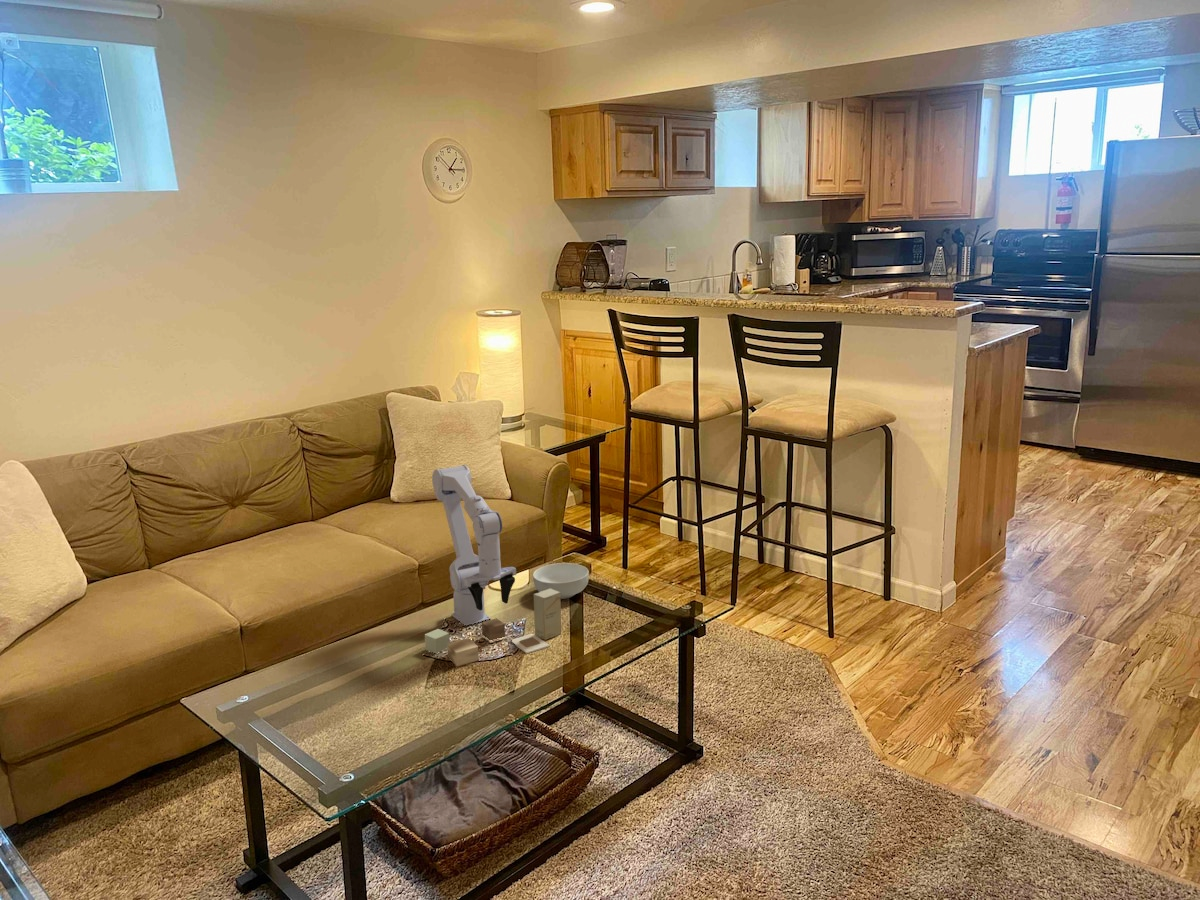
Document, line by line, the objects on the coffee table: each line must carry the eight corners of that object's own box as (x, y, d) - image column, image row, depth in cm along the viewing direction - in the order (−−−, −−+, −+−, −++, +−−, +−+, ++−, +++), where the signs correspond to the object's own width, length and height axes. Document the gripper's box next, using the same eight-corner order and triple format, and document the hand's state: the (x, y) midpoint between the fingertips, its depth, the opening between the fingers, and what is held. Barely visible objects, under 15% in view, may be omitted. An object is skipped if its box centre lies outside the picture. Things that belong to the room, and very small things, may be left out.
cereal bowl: (567, 579, 280) (566, 558, 279) (600, 594, 268) (600, 572, 266) (522, 593, 270) (521, 571, 268) (555, 610, 257) (554, 587, 256)
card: (510, 641, 237) (509, 639, 237) (532, 634, 241) (532, 632, 241) (526, 653, 230) (526, 651, 230) (549, 646, 234) (549, 644, 234)
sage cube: (425, 650, 234) (424, 634, 233) (439, 644, 237) (438, 628, 236) (436, 655, 231) (435, 639, 230) (450, 648, 234) (449, 633, 233)
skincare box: (544, 640, 237) (543, 598, 235) (534, 635, 241) (532, 594, 238) (562, 633, 242) (561, 591, 239) (551, 628, 245) (550, 587, 242)
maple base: (448, 658, 229) (447, 643, 228) (469, 652, 232) (468, 637, 231) (457, 667, 224) (456, 652, 223) (478, 660, 227) (478, 646, 226)
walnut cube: (482, 637, 240) (481, 622, 239) (497, 633, 243) (496, 618, 242) (490, 643, 237) (489, 628, 236) (505, 639, 239) (504, 623, 238)
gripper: (471, 567, 227) (474, 617, 230) (520, 555, 235) (523, 603, 238) (459, 560, 233) (462, 608, 236) (508, 548, 241) (510, 595, 244)
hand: (492, 605), depth 237 cm, fingers open, 7 cm apart
